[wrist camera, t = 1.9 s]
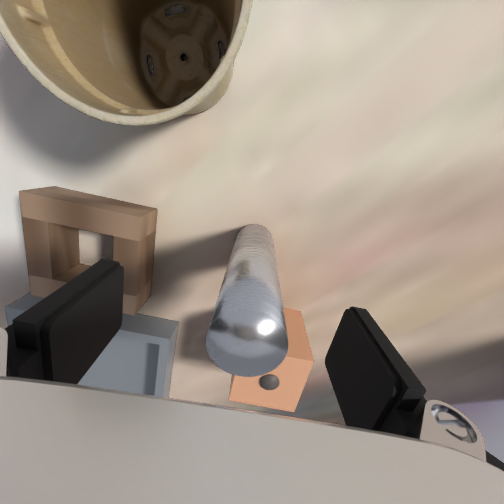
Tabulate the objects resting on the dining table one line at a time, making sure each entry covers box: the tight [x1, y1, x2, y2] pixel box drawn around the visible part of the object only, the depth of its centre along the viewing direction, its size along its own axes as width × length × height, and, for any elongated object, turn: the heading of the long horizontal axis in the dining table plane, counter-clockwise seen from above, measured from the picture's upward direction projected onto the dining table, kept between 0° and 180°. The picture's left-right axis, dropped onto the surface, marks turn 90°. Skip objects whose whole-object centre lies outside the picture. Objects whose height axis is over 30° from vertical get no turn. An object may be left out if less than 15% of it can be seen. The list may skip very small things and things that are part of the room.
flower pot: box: [0, 0, 253, 126], centre depth 12 cm, size 9×9×9 cm
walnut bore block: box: [19, 186, 157, 315], centre depth 19 cm, size 8×8×3 cm
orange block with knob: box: [229, 308, 314, 412], centre depth 20 cm, size 5×5×6 cm
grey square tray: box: [5, 293, 179, 398], centre depth 24 cm, size 14×14×2 cm
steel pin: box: [206, 224, 289, 377], centre depth 15 cm, size 3×3×12 cm
